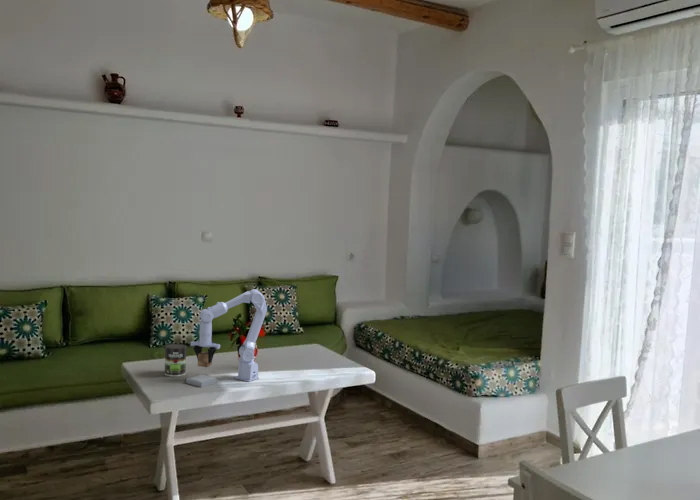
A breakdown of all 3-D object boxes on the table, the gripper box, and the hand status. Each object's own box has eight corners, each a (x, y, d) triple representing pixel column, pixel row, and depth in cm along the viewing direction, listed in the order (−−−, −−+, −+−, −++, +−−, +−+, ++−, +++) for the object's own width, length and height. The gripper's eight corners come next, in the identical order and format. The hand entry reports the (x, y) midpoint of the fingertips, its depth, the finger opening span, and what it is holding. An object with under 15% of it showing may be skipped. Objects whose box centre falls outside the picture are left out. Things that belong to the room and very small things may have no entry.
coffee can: (185, 376, 300) (186, 348, 298) (164, 377, 297) (164, 348, 296) (185, 370, 309) (186, 343, 308) (164, 371, 307) (165, 343, 305)
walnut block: (211, 364, 297) (212, 352, 296) (207, 367, 292) (207, 355, 292) (202, 363, 298) (202, 351, 297) (197, 366, 293) (198, 353, 293)
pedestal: (216, 382, 293) (216, 377, 293) (201, 387, 284) (201, 382, 284) (201, 378, 298) (201, 373, 298) (186, 383, 289) (186, 378, 289)
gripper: (223, 334, 296) (222, 361, 297) (195, 331, 299) (194, 358, 300) (217, 337, 289) (216, 365, 290) (188, 334, 292) (188, 361, 293)
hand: (204, 361), depth 295 cm, fingers closed on walnut block, 5 cm apart
